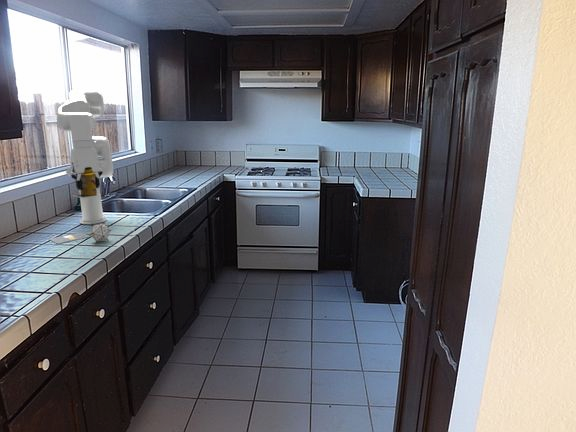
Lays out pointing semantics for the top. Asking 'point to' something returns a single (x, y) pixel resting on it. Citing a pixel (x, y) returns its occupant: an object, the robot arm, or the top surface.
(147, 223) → the top surface
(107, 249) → the top surface
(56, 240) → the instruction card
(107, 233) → the game die
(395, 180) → the top surface
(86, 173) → the condiment
